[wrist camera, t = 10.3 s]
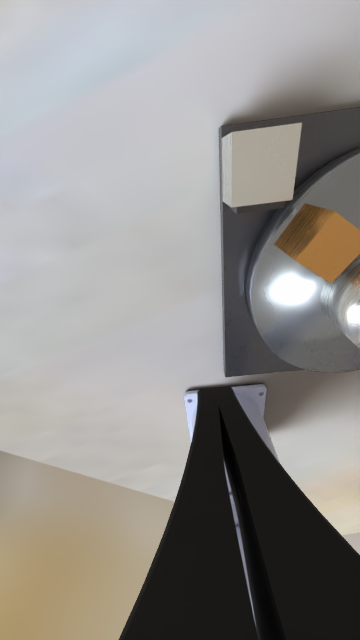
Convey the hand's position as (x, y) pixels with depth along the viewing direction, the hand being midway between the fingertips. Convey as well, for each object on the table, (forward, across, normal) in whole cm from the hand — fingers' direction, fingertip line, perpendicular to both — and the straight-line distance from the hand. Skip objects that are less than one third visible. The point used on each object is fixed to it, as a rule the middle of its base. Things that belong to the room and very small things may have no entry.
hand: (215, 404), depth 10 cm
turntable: (+9, -11, -1) cm, 14 cm away
